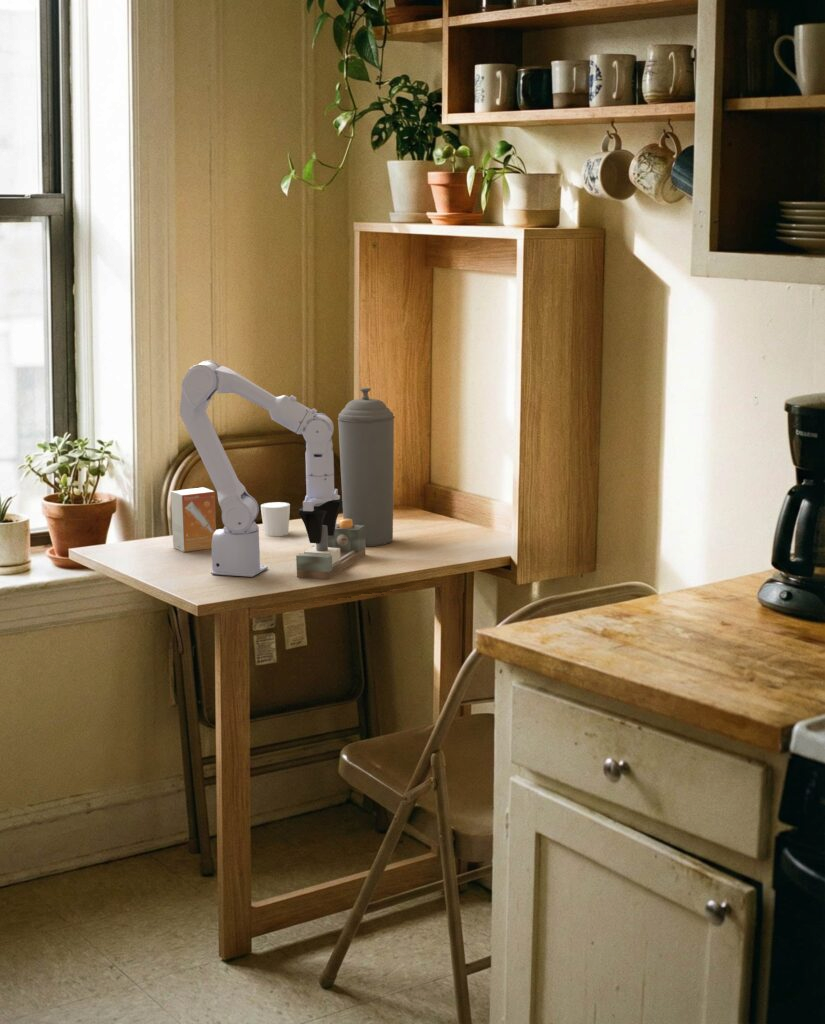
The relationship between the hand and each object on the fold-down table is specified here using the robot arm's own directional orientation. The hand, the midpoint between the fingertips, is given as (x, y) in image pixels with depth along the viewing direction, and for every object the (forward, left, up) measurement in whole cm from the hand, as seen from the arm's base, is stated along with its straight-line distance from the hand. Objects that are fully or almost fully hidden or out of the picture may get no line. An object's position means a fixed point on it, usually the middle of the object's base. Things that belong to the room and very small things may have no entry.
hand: (321, 539), depth 279 cm
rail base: (0, +6, -7) cm, 9 cm away
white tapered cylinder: (-24, +32, -7) cm, 40 cm away
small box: (-36, +14, -7) cm, 39 cm away
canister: (0, +29, -7) cm, 29 cm away
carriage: (0, 0, -5) cm, 5 cm away
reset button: (0, +14, -2) cm, 14 cm away
